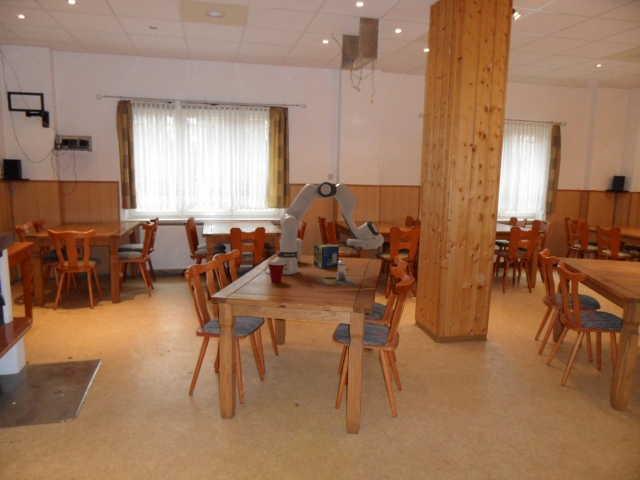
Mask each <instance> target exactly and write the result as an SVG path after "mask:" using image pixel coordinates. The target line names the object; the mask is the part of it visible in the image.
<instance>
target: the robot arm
mask: <svg viewBox="0 0 640 480" xmlns="http://www.w3.org/2000/svg"><path fill="white" fill-rule="evenodd" d="M331 197H333V198H335V200H336V201H337V202H338V203H339V205H340V206H341V215H342V218H343V219H344V222H345V224H346V225H347V227H348V230H349V232H350V233H351V237H352V238H350V239H349V238H348V239H347V240H346V245H347V246H352V247H359V248H362V249H363V250H370V249H374V250H375V249H376V250H377V249H378V248H379V247H381V246H382V245H383V244H384V242H385V239H384V236H383V235H382V234H381V233H380V232H379V228H378V225H377V223H375V222H373V221H367V222H365V223H363V224H362V225H360V226H359V227H357V225H356V223H355V221H354V219H353V213H354V210H355V209H356V206H357V202H358V201H357V197H356V196H355V194H354V193H353V192H352V191H351V189H350V188H349V187H348V186H347V185H346V184H345V183H342V182H339V183H337V184H334V183H331V182H330V181H329V182H328V181H322V182H320V183H319V184H318V185H315V184H314V183H306V184H305V185H304V186H303V187H302V188H301V189H300V191H299V192H298V193H297V195H296V197H295V198H294V200H293V201H292V202H291V204H290V205H289V206H288V208H287V209H286V210H285V212H284V213H283V214H282V216H281V217H280V219H279V224H280V229H281V230H280V231H281V232H280V240H281V248H280V250H277V251H276V255H277V257H275V258H274V259H273V260H271V261H270V262H281V263H285V265H284V268H283V274H282V275H293V274H297V273H299V272H300V271H299V266H298V262H297V258H298V253H297V238H298V232H299V231H298V230H299V221H300V220H301V219H302V217H304V215H305V214H306V213H307V211H308V209H309V208H310V207H311V205H312V204H313V202H314V201H315V199H317V198H320V199H325V200H327V199H330V198H331ZM265 274H267V275H268V274H269V275H270V270H269V268H267V269H265Z"/></svg>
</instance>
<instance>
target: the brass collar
mask: <svg viewBox="0 0 640 480" xmlns="http://www.w3.org/2000/svg"><path fill="white" fill-rule="evenodd" d="M321 278H322V283H323V284H325V285H335V286H337V285H336V284H338V276H323V277H321Z"/></svg>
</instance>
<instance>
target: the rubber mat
mask: <svg viewBox="0 0 640 480" xmlns="http://www.w3.org/2000/svg"><path fill="white" fill-rule="evenodd" d="M315 280H316V282H317V283H318V285H319V286H320V287H325V286H326V287H330V286H359V284H358V283H357V282H356V281H355V280H354V278H346V281H338V284H336V285H325V284H323V283H322V279H321V278H317V279H315Z"/></svg>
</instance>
